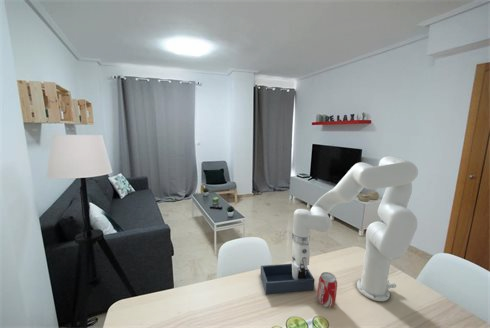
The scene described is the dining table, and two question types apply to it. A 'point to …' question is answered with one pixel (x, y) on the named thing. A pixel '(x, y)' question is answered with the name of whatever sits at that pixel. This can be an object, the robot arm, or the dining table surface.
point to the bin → (284, 280)
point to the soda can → (327, 289)
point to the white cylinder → (295, 269)
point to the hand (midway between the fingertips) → (298, 272)
